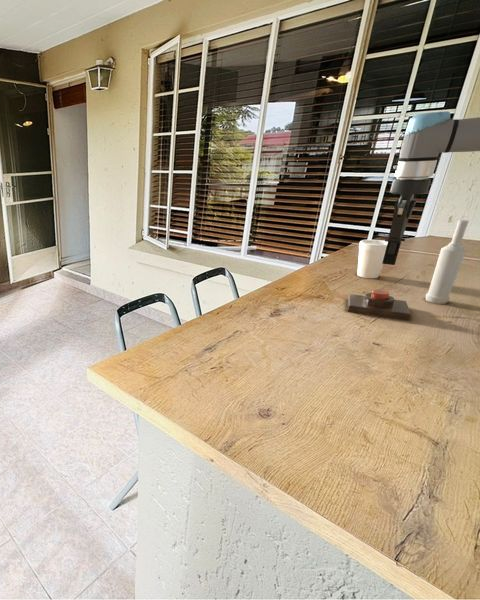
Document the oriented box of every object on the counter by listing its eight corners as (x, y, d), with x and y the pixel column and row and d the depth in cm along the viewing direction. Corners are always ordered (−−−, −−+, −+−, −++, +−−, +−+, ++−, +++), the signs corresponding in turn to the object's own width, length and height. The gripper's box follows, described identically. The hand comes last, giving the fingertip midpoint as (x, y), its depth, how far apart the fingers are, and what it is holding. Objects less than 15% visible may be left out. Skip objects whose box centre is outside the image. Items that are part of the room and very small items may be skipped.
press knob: (386, 297, 105) (388, 290, 105) (388, 301, 102) (390, 295, 102) (370, 295, 108) (371, 288, 107) (370, 299, 105) (372, 293, 104)
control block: (404, 306, 107) (407, 294, 105) (409, 320, 98) (413, 307, 97) (347, 299, 114) (350, 287, 113) (347, 311, 106) (350, 299, 105)
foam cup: (352, 277, 133) (360, 244, 128) (352, 270, 140) (359, 238, 135) (384, 280, 127) (394, 246, 123) (382, 273, 134) (391, 240, 130)
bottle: (429, 303, 108) (456, 221, 99) (421, 297, 112) (447, 218, 103) (451, 304, 106) (481, 222, 97) (442, 298, 110) (470, 218, 101)
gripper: (397, 176, 99) (376, 257, 108) (389, 180, 91) (367, 266, 100) (434, 176, 94) (408, 260, 102) (429, 180, 86) (402, 271, 94)
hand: (388, 263), depth 101 cm, fingers closed
